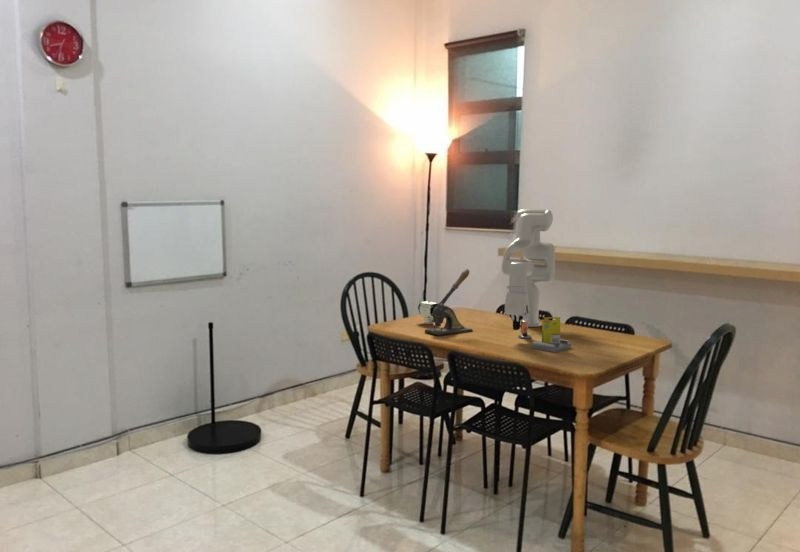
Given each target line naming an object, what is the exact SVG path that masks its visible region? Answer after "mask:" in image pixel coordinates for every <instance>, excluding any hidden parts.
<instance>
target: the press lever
mask: <svg viewBox="0 0 800 552" xmlns="http://www.w3.org/2000/svg"><path fill="white" fill-rule="evenodd" d="M520 325H521V326H520V334H522V333H523V334H527V333H528V332H529V330H528V329H529V327H528V326H530V321H529V320H521V321H520ZM527 335H528V334H527Z"/></svg>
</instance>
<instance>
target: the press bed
mask: <svg viewBox="0 0 800 552" xmlns="http://www.w3.org/2000/svg"><path fill="white" fill-rule="evenodd" d="M571 348H572V343H571V342H569V340H565V339H561V338H560V344H549V343H544V342H542V340H538V341H537V340H534V341H533V342H532V343H530V349H535V350H541V351H545V352H551V353H555V354H556V353H560V352H561V351H566V350H569V349H571Z"/></svg>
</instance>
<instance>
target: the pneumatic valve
mask: <svg viewBox="0 0 800 552" xmlns="http://www.w3.org/2000/svg"><path fill="white" fill-rule="evenodd" d="M438 303H439V302H433V301H431V300H426V301H419V304H418V305H417V310H418V313H419V315H423V323H424V324H425V325H433V324H434V322H433V309H434V308H435V307H436V306H437V305H438Z"/></svg>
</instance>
